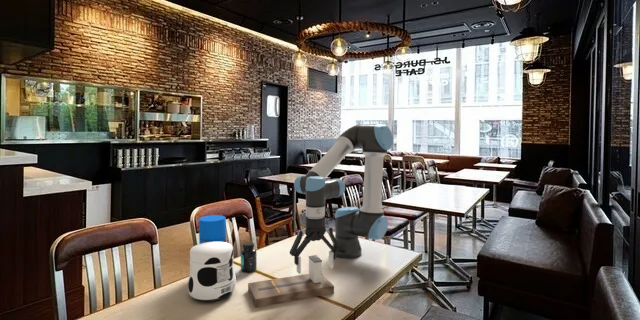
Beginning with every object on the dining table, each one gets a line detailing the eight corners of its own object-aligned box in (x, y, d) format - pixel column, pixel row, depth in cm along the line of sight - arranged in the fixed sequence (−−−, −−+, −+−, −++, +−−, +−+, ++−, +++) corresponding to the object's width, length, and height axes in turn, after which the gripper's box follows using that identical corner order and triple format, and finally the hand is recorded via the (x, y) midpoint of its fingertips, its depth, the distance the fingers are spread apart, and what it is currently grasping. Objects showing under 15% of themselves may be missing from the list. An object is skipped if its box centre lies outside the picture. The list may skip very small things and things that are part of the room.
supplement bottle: (241, 274, 153) (240, 246, 152) (240, 268, 159) (240, 241, 158) (257, 272, 154) (257, 245, 153) (255, 266, 161) (255, 240, 160)
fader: (316, 275, 143) (316, 255, 142) (321, 281, 137) (322, 260, 136) (308, 276, 142) (308, 256, 141) (314, 283, 136) (314, 261, 135)
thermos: (219, 282, 144) (218, 222, 142) (195, 280, 146) (193, 220, 144) (231, 272, 155) (230, 215, 152) (208, 270, 157) (207, 214, 155)
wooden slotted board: (320, 278, 148) (320, 271, 148) (333, 293, 135) (334, 285, 135) (248, 290, 137) (248, 282, 137) (255, 307, 124) (255, 299, 124)
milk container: (198, 283, 143) (197, 240, 141) (241, 284, 142) (240, 240, 141) (180, 305, 125) (178, 255, 124) (228, 306, 125) (227, 256, 123)
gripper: (287, 221, 129) (287, 278, 131) (348, 216, 138) (347, 268, 140) (281, 217, 136) (281, 270, 138) (340, 211, 145) (339, 262, 147)
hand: (315, 269), depth 139 cm, fingers open, 13 cm apart
